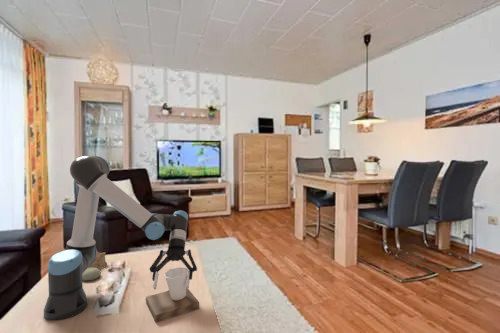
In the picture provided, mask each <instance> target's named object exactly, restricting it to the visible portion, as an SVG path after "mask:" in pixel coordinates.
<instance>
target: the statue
mask: <svg viewBox="0 0 500 333" xmlns="http://www.w3.org/2000/svg"><path fill="white" fill-rule="evenodd" d="M106 253H107V252H106V251H105V252H99V251H98V250H97V255H96V258H95V260H94V262H93V263H92V264H91V265H90V266H89V267H88V268H97V269H99V270H101V269H103V268H105V267H106V266H107V265H108V263H107V261H106ZM105 265H106V266H105ZM104 266H105V267H104ZM102 267H103V268H102ZM88 268H87V269H88ZM100 268H101V269H100Z"/></svg>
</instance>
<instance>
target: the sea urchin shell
mask: <svg viewBox="0 0 500 333" xmlns="http://www.w3.org/2000/svg"><path fill="white" fill-rule="evenodd" d="M101 275H102V271H101V269H97V268H88V269H86V270H85V271H84V273H83V274H82V281H83V282H85V281H86V282H87V281H94V280H96V279H98V278H99V277H100V276H101Z"/></svg>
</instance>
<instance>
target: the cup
mask: <svg viewBox="0 0 500 333" xmlns="http://www.w3.org/2000/svg"><path fill="white" fill-rule="evenodd" d="M188 271H189V270H188V269H187V267H186V268H185V267H175V268H172V269H169V270H167V271H166V272H165V273H164V278H165V281H166V284H167V288H168V291H170V295H171V298H172V299H173V300H181V299H183V298H184V297H185V296H186V285H187V274H188Z"/></svg>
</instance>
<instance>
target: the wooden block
mask: <svg viewBox="0 0 500 333" xmlns="http://www.w3.org/2000/svg"><path fill="white" fill-rule="evenodd" d="M145 303H146V306H147V308H148V310H149V312H150V315H151V317H152V319H153V320H154V322H155V324H157V323H160V322H161V321H162V322H163V321H165V320H168V319H171V318H174V317H178V316H180V315H183V314H186V313H189V312H193V311H196V310H199V309H200V300H198V299H197V297H196V296H195V295H194V294H193V293H192V292H191V291H190V289H189V288H187V287H186V296H185V297H184V298H183V299H181V300H173V299H172V298H171V295H170V291H169V290H166V291H162V292H159V293H158V292H157V293H155V294H151V295H149V296H145Z"/></svg>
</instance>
